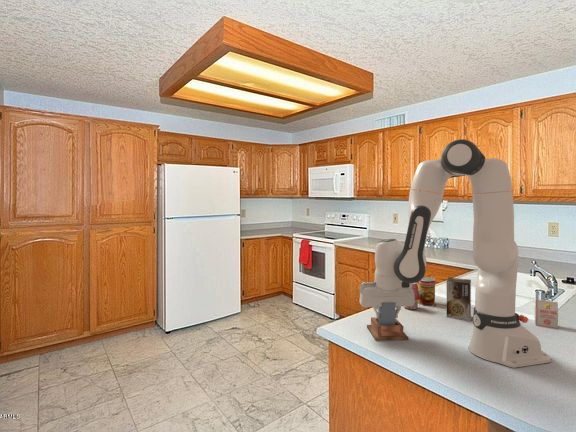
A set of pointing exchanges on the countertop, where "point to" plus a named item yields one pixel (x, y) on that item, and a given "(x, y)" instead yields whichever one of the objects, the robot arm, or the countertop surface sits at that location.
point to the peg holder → (386, 331)
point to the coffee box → (458, 298)
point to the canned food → (426, 291)
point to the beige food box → (546, 314)
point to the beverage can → (415, 289)
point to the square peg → (387, 314)
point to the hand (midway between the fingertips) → (386, 317)
